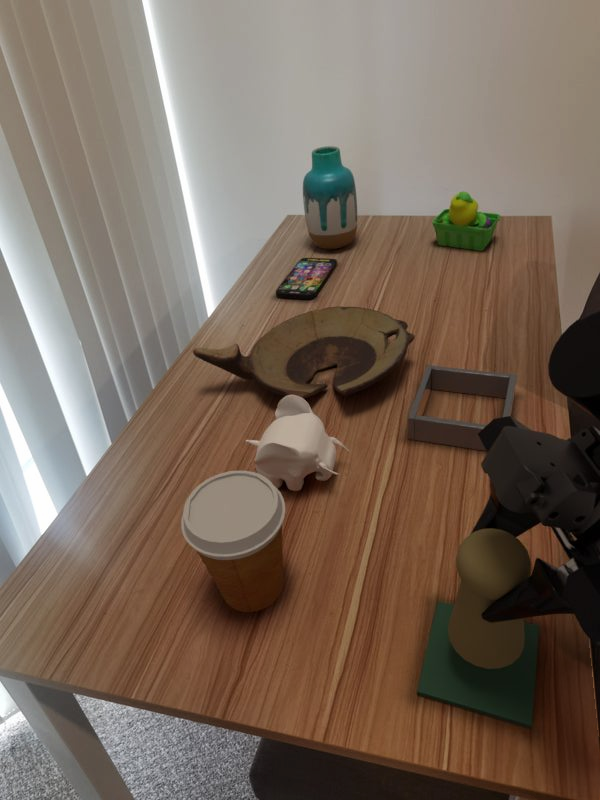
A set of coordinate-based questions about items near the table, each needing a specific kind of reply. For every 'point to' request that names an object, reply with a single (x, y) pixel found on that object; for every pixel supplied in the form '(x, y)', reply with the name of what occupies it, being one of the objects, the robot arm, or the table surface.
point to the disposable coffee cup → (238, 536)
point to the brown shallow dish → (319, 351)
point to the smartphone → (306, 278)
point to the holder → (461, 383)
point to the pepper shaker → (488, 598)
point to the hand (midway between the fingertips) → (473, 588)
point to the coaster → (479, 676)
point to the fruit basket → (465, 224)
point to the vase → (330, 200)
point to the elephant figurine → (295, 446)
